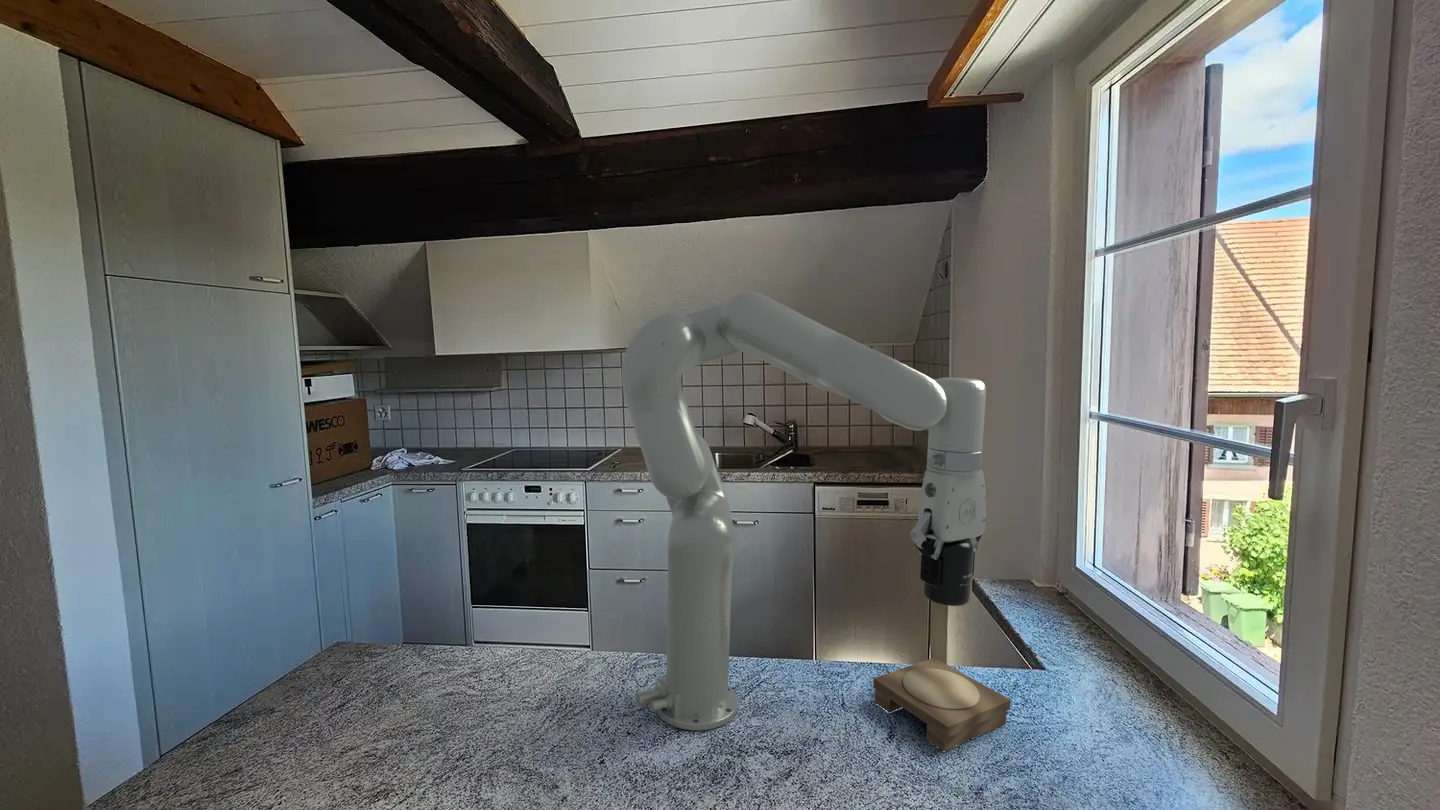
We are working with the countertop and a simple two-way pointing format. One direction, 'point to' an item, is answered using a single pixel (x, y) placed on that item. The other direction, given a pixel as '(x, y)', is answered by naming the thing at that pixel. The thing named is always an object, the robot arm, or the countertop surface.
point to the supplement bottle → (953, 574)
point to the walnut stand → (942, 701)
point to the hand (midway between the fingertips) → (947, 577)
